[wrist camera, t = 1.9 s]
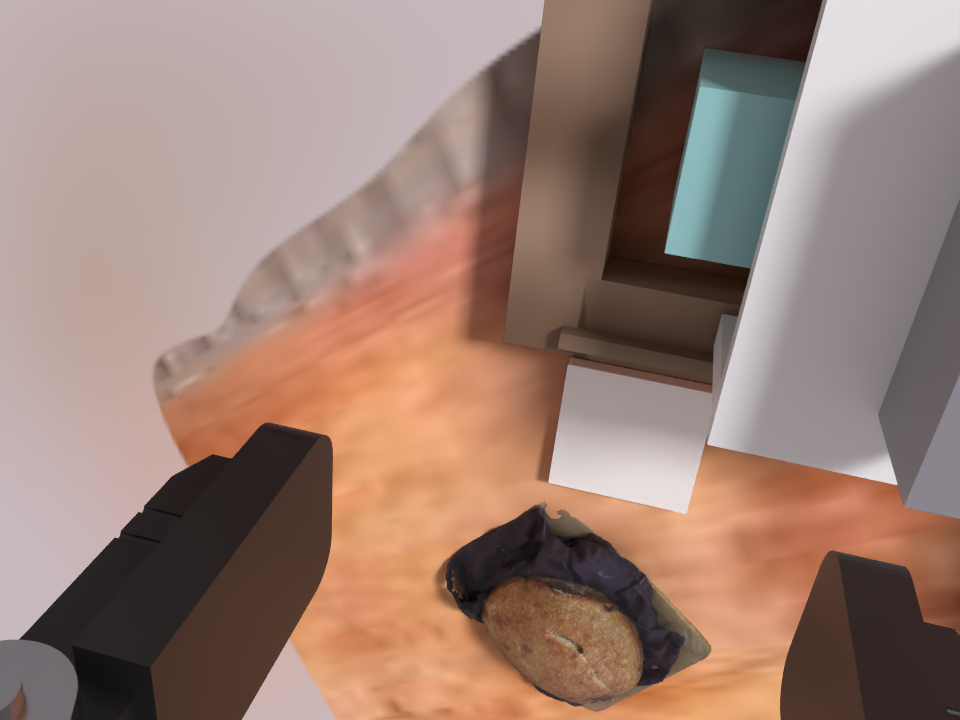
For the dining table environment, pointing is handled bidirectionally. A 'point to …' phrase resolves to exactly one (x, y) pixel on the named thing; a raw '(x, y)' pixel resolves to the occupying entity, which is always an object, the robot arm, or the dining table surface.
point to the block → (731, 155)
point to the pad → (630, 434)
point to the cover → (859, 264)
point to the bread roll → (572, 610)
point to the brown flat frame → (599, 210)
